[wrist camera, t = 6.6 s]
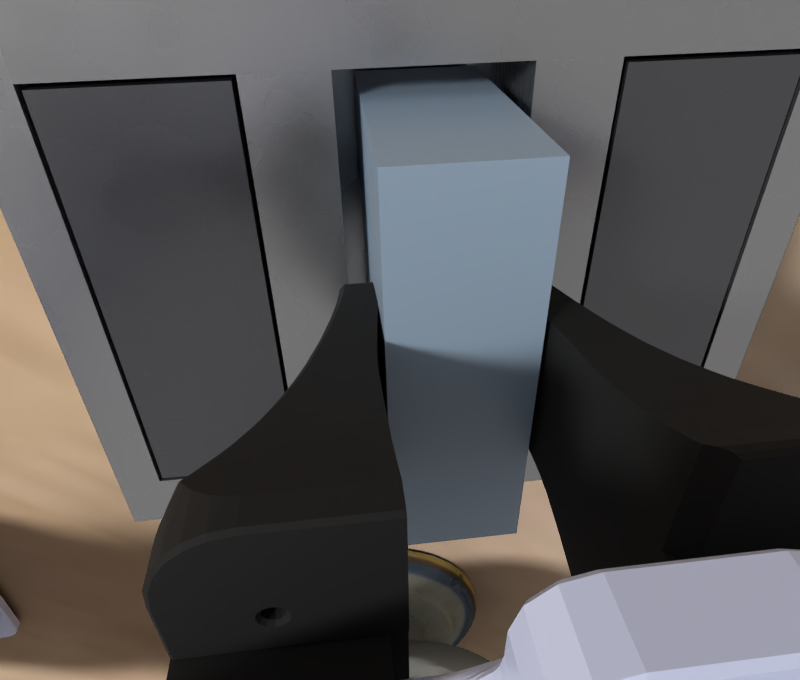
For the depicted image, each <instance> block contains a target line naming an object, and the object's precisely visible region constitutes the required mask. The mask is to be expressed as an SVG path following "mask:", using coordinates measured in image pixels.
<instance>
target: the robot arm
mask: <svg viewBox="0 0 800 680" xmlns="http://www.w3.org/2000/svg"><path fill="white" fill-rule="evenodd" d="M529 451H530V453H531V455H532V458H533V460H534V462H535V464H536V467H537V469H538V471H539V474H540V476H541V479H542V481H543V484H544V487H545V489H546V492H547V495H548V498H549V502H550V505H551V508H552V511H553V515H554V518H555V521H556V524H557V528H558V531H559V534H560V538H561V541H562V545H563V548H564V552H565V555H566V559H567V562H568V566H569V569H570V573H571V576H572V577H568V578H565V579H561V580H558V581H556V582H555V583H553V584H552V585H550V586H548V587H547V588H545V589H544V590H542V591H540V592H539V593H537V594H536V595H534V596H533V597H531V598H529V599H528V600H527V601H526V602H525V604H524V605H523V607H522V608H521V610H520V612H519V613H518V615H517V617H516V618H515V620H514V622H513V623H512V625H511V626H510V628H509V630H508V633H507V639H506V646H505V652H504V656H503V658H501V659H497V660H494V661H490V662H487V663H484V664H481V665H477V666H474V667H471V668H468V669H464V670H461V671H458V672H455V673H451V674H444V675H436V676H428V677H420V678H413V679H409V633H408V631H409V583H408V532H407V510H406V503H405V497H404V490H403V484H402V478H401V474H400V470H399V467H398V463H397V459H396V454H395V450H394V446H393V442H392V438H391V433H390V428H389V423H388V418H387V414H386V408H385V403H384V398H383V392H382V380H381V359H380V339H379V318H378V301H377V297H376V292H375V288H374V284H373V282H369V283H356V284H344V285H343V287H342V288H341V289H340V290H339V296H338V300H337V303H336V306H335V309H334V311H333V314H332V316H331V319H330V321H329V323H328V325H327V327H326V329H325V331H324V333H323V335H322V337H321V339H320V341H319V343H318V345H317V346H316V348H315V350H314V351H313V353H312V355H311V356H310V358H309V360H308V361H307V363H306V364H305V366H304V367H303V369H302V370H301V372H300V373H299V375H298V376H297V377H296V379H295V380H294V381H293V383H292V384H291V385H290V387H289V388H288V389H287V390H286V392H285V393H284V394H283V395H282V396H281V398H280V399H279V400H278V401H277V402H276V403H275V404H274V405H273V406H272V408H271V409H270V410H269V411H268V412H267V413H266V414H265V415H264V416H263V417H262V418H261V419H260V420H259V421H258V422H257V423H256V424H255V425H254V426H253V427H252V428H251V429H249V430H248V431H247V432H246V433H245V434H244V435H243V436H242V437H240V438H239V439H238V440H237V441H236V442H235V443H233V444H232V445H231V446H230V447H228V448H227V449H226V450H224V451H223V452H222V453H220V454H219V455H218V456H216V457H215V458H213V459H212V460H210V461H209V462H207V463H206V464H205V465H203V466H202V467H200V468H199V469H197V470H196V471H194V472H193V473H191V474H190V475H189V476H187V477H185V478H184V479H182V480H181V481H179V483H178V484H177V486H176V488H175V490H174V493H173V495H172V497H171V499H170V501H169V504H168V506H167V508H166V511H165V513H164V516H163V518H162V520H161V523H160V525H159V528H158V531H157V534H156V537H155V540H154V543H153V547H152V552H151V556H150V560H149V565H148V569H147V573H146V577H145V582H144V586H143V590H142V591H143V596H144V600H145V605H146V608H147V610H148V612H149V614H150V617H151V619H152V621H153V623H154V625H155V627H156V629H157V631H158V633H159V636H160V638H161V640H162V642H163V644H164V646H165V648H166V650H167V652H168V655H169V657H170V658H171V659H170V664H169V670H168V675H167V680H800V398H797V397H794V396H790V395H786V394H783V393H779V392H776V391H772V390H769V389H765V388H762V387H758V386H755V385H751V384H748V383H745V382H742V381H739V380H736V379H733V378H730V377H727V376H724V375H722V374H719V373H716V372H714V371H711V370H708V369H705V368H703V367H700V366H697V365H695V364H692V363H690V362H687V361H685V360H683V359H680V358H678V357H676V356H674V355H671V354H669V353H667V352H665V351H663V350H661V349H658V348H656V347H654V346H652V345H650V344H648V343H646V342H644V341H642V340H640V339H638V338H636V337H634V336H633V335H631V334H629V333H627V332H625V331H624V330H622V329H620V328H618V327H617V326H615V325H613V324H611V323H610V322H608V321H606V320H605V319H603V318H601V317H600V316H598V315H597V314H595V313H593V312H592V311H590V310H589V309H587V308H586V307H584V306H582V305H581V304H579V303H578V302H576V301H575V300H573V299H572V298H570V297H569V296H567V295H566V294H564V293H563V292H562V291H560V290H559V289H557V288H556V287H554V286H553V285H552V287H551V294H550V301H549V308H548V315H547V322H546V329H545V336H544V343H543V350H542V357H541V364H540V371H539V378H538V385H537V392H536V399H535V406H534V413H533V420H532V427H531V434H530V441H529ZM19 625H20V622H19V620H18V619H17V618H16V616H15V615H14V613H13V612H12V611H11V609H10V608H9V606H8V605H7V603H6V602H5V601H4V599H3V598H2V596H1V595H0V638H4V637H10V636H13V635H14V634H16V632H17V630H18V628H19Z"/></svg>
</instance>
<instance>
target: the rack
mask: <svg viewBox="0 0 800 680" xmlns="http://www.w3.org/2000/svg"><path fill="white" fill-rule="evenodd" d="M456 66H476V67H477V68H478V69H479V70H480V71H481V72H482V73H483V74H484V75H485V76H486V77H487V78H488V79H489V80H490V81H492V82H493V83H494V84H495V85H496V86H497V87H498V88H499V89H500V90H501V91H502V92H503V93H504V94H505V95H506V96H507V97H508V98H509V99H511V100H512V101H513V102H514V103H515V104H516V105H517V106H518V107H519V108H520V109H521V110H522V111H523V112H524V113H525V114H526V115H527V116H528V117H530V118H531V119H532V120H533V121H534V122H535V123H536V124H537V125H538V126H539V127H540V128H541V129H542V130H543V131H544V132H545V133H546V134H547V135H549V136H550V137H551V138H552V139H553V140H554V141H555V142H556V143H557V144H558V145H559V146H560V147H561V148H562V149H563V150H564V151H565V152H566V153H568V154H569V155H570V161H569V168H568V175H567V182H566V189H565V196H564V203H563V210H562V217H561V224H560V231H559V238H558V245H557V252H556V259H555V266H554V273H553V280H552V285H553V286H554V287H556V288H557V289H559V290H560V291H562V292H563V293H564V294H566V295H567V296H569V297H570V298H572V299H573V300H575V301H576V302H578V303H579V304H581V305H582V306H584V307H586V308H587V309H589V310H590V311H592V312H593V313H595V314H597V315H598V316H600V317H601V318H603V319H605V320H606V321H608V322H610V323H611V324H613V325H615V326H617V327H618V328H620V329H622V330H624V331H625V332H627V333H629V334H631V335H633V336H634V337H636V338H638V339H640V340H642V341H644V342H646V343H648V344H650V345H652V346H654V347H656V348H658V349H661V350H663V351H665V352H667V353H669V354H671V355H674V356H676V357H678V358H680V359H683V360H685V361H687V362H690V363H692V364H695V365H697V366H700V367H703V368H705V369H708V370H711V371H714V372H716V373H719V374H722V375H724V376H727V377H730V378H733V379H736V376H737V374H738V371H739V368H740V366H741V363H742V361H743V358H744V356H745V353H746V350H747V348H748V345H749V343H750V340H751V338H752V335H753V333H754V330H755V327H756V325H757V322H758V320H759V317H760V315H761V312H762V309H763V307H764V304H765V302H766V299H767V297H768V294H769V292H770V289H771V286H772V284H773V281H774V279H775V276H776V274H777V271H778V268H779V266H780V263H781V261H782V258H783V256H784V253H785V250H786V248H787V245H788V243H789V240H790V238H791V235H792V233H793V230H794V227H795V225H796V222H797V220H798V217H799V215H800V0H0V208H1V211H2V213H3V215H4V218H5V220H6V222H7V225H8V227H9V229H10V232H11V234H12V236H13V239H14V241H15V243H16V246H17V248H18V250H19V253H20V255H21V257H22V260H23V262H24V264H25V267H26V269H27V271H28V274H29V276H30V278H31V281H32V283H33V285H34V288H35V290H36V292H37V295H38V297H39V299H40V302H41V304H42V306H43V308H44V311H45V313H46V315H47V318H48V320H49V322H50V325H51V327H52V329H53V332H54V334H55V336H56V339H57V341H58V343H59V346H60V348H61V350H62V353H63V355H64V357H65V360H66V362H67V364H68V367H69V369H70V371H71V374H72V376H73V378H74V381H75V383H76V385H77V388H78V390H79V392H80V395H81V397H82V399H83V402H84V404H85V406H86V409H87V411H88V413H89V416H90V418H91V420H92V423H93V425H94V427H95V430H96V432H97V434H98V437H99V439H100V441H101V444H102V446H103V448H104V451H105V453H106V455H107V458H108V460H109V462H110V465H111V467H112V469H113V472H114V474H115V476H116V479H117V481H118V483H119V486H120V488H121V490H122V493H123V495H124V497H125V500H126V502H127V504H128V507H129V509H130V511H131V514H132V516H133V518H134V521H135V522H136V521H146V520H155V519H162V518H163V516H164V513H165V511H166V508H167V506H168V504H169V501H170V499H171V497H172V495H173V493H174V490H175V488H176V486H177V484H178V483H179V481H181V480H182V479H184V478H185V477H187V476H189V475H190V474H191V473H193V472H194V471H196V470H197V469H199V468H200V467H202V466H203V465H205V464H206V463H207V462H209V461H210V460H212V459H213V458H215V457H216V456H218V455H219V454H220V453H222V452H223V451H224V450H226V449H227V448H228V447H230V446H231V445H232V444H233V443H235V442H236V441H237V440H238V439H239V438H240V437H242V436H243V435H244V434H245V433H246V432H247V431H248V430H249V429H251V428H252V427H253V426H254V425H255V424H256V423H257V422H258V421H259V420H260V419H261V418H262V417H263V416H264V415H265V414H266V413H267V412H268V411H269V410H270V409H271V408H272V406H273V405H274V404H275V403H276V402H277V401H278V400H279V399H280V398H281V396H282V395H283V394H284V393H285V392H286V390H287V389H288V388H289V387H290V385H291V384H292V383H293V381H294V380H295V379H296V377H297V376H298V375H299V373H300V372H301V370H302V369H303V367H304V366H305V364H306V363H307V361H308V360H309V358H310V356H311V355H312V353H313V351H314V350H315V348H316V346H317V345H318V343H319V341H320V339H321V337H322V335H323V333H324V331H325V329H326V327H327V325H328V323H329V321H330V319H331V316H332V314H333V311H334V309H335V306H336V303H337V300H338V296H339V290H340V289H341V288H342V287H343V285H344V284H356V283H367V282H366V265H365V248H364V232H363V215H362V198H361V182H360V165H359V148H358V132H357V115H356V98H355V82H354V71H369V70H391V69H413V68H434V67H456ZM534 480H542V479H541V476H540V474H539V471H538V469H537V467H536V464H535V462H534V460H533V458H532V455H531V453H530V451H529V448H528V455H527V462H526V469H525V476H524V481H534Z"/></svg>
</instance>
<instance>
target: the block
mask: <svg viewBox="0 0 800 680" xmlns="http://www.w3.org/2000/svg"><path fill="white" fill-rule="evenodd" d="M354 82H355V98H356V115H357V132H358V148H359V165H360V182H361V198H362V215H363V232H364V248H365V265H366V282H367V283H369V282H373V284H374V288H375V292H376V297H377V301H378V318H379V339H380V359H381V380H382V392H383V398H384V403H385V408H386V414H387V418H388V423H389V428H390V433H391V438H392V442H393V446H394V450H395V454H396V459H397V463H398V467H399V470H400V474H401V478H402V484H403V490H404V497H405V503H406V510H407V532H408V545H412V544H421V543H430V542H440V541H449V540H458V539H467V538H476V537H485V536H494V535H503V534H512V533H516V532H517V525H518V518H519V511H520V504H521V497H522V490H523V483H524V476H525V469H526V462H527V455H528V448H529V441H530V434H531V427H532V420H533V413H534V406H535V399H536V392H537V385H538V378H539V371H540V364H541V357H542V350H543V343H544V336H545V329H546V322H547V315H548V308H549V301H550V294H551V287H552V280H553V273H554V266H555V259H556V252H557V245H558V238H559V231H560V224H561V217H562V210H563V203H564V196H565V189H566V182H567V175H568V168H569V161H570V155H569V154H568V153H566V152H565V151H564V150H563V149H562V148H561V147H560V146H559V145H558V144H557V143H556V142H555V141H554V140H553V139H552V138H551V137H550V136H549V135H547V134H546V133H545V132H544V131H543V130H542V129H541V128H540V127H539V126H538V125H537V124H536V123H535V122H534V121H533V120H532V119H531V118H530V117H528V116H527V115H526V114H525V113H524V112H523V111H522V110H521V109H520V108H519V107H518V106H517V105H516V104H515V103H514V102H513V101H512V100H511V99H509V98H508V97H507V96H506V95H505V94H504V93H503V92H502V91H501V90H500V89H499V88H498V87H497V86H496V85H495V84H494V83H493V82H492V81H490V80H489V79H488V78H487V77H486V76H485V75H484V74H483V73H482V72H481V71H480V70H479V69H478V68H477V67H476V66H456V67H434V68H413V69H391V70H369V71H354Z"/></svg>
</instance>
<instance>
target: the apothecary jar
mask: <svg viewBox="0 0 800 680" xmlns="http://www.w3.org/2000/svg"><path fill="white" fill-rule="evenodd" d="M408 583H409V631H408V633H409V679H413V678H420V677H428V676H436V675H444V674H451V673H455V672H458V671H461V670H464V669H468V668H471V667H474V666H477V665H481V664H484V663H487V662H490V661H488V660H486V659H485V658H483V657H481V656H479V655H477V654H475V653H473V652H470V651H468V650H465V649H462V648H460V647H456V645H457V644H458V643H459V642H460V641H461V640H462V638H463V637H464V636H465V635H466V633H467V632H468V630H469V628H470V626H471V624H472V622H473V619H474V616H475V611H476V595H475V591H474V588H473V586H472V584H471V582H470V581H469V579H468V578H467V577H466V575H465V574H464V573H463V572H462V571H461V570H459V569H458V568H457V567H455V566H454V565H452V564H450V563H449V562H447V561H444V560H442V559H440V558H437V557H435V556H432V555H428V554H424V553H420V552H415V551H409V550H408Z"/></svg>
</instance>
